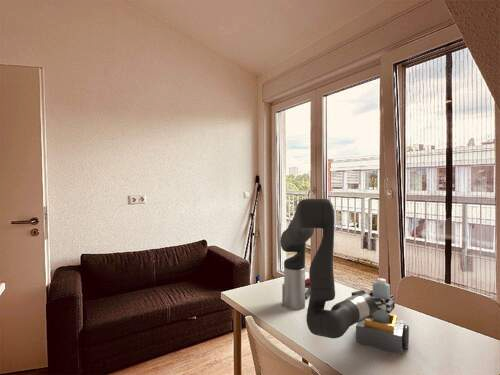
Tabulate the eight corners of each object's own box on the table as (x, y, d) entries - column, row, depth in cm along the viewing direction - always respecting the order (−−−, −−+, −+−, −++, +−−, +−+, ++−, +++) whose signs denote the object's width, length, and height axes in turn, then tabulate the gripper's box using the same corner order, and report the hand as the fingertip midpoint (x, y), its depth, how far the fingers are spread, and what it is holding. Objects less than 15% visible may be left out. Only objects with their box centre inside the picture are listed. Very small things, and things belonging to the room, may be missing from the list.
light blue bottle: (370, 322, 102) (371, 280, 101) (373, 316, 106) (374, 276, 106) (388, 326, 99) (389, 283, 99) (390, 320, 104) (390, 278, 103)
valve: (304, 283, 166) (330, 284, 158) (286, 302, 143) (317, 304, 136) (302, 272, 166) (328, 272, 158) (284, 289, 143) (314, 290, 136)
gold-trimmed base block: (355, 342, 101) (356, 319, 101) (363, 327, 112) (363, 306, 111) (406, 356, 93) (407, 331, 93) (409, 339, 104) (409, 316, 103)
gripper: (379, 303, 88) (405, 290, 98) (338, 289, 99) (365, 279, 110) (379, 328, 88) (405, 312, 99) (338, 311, 99) (365, 299, 110)
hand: (384, 295), depth 104 cm, fingers closed on light blue bottle, 5 cm apart
